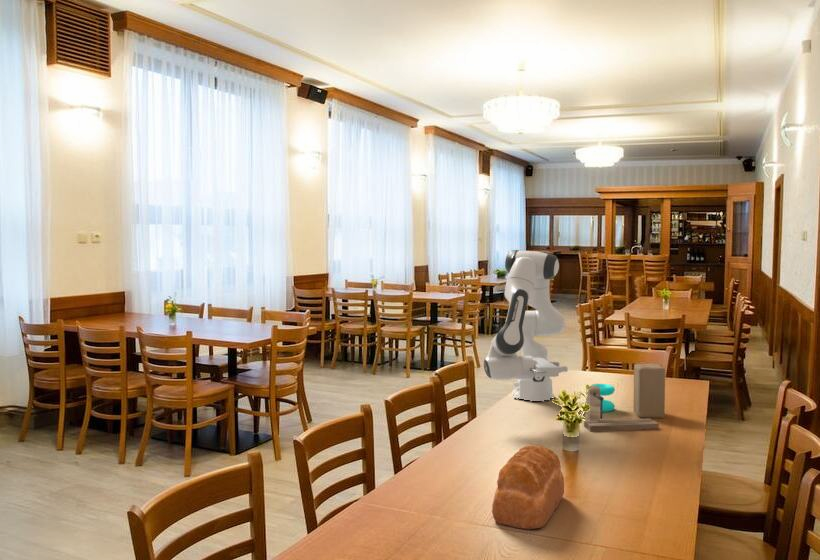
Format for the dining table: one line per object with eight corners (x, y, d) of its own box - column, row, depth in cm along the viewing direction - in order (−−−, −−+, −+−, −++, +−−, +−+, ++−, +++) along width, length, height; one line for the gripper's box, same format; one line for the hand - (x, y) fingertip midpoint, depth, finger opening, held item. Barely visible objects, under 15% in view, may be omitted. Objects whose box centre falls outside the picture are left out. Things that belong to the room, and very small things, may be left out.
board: (583, 426, 253) (583, 420, 253) (650, 423, 256) (650, 418, 256) (590, 431, 246) (590, 425, 246) (658, 428, 249) (658, 423, 249)
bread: (488, 524, 168) (487, 463, 167) (518, 488, 192) (518, 435, 191) (542, 534, 162) (543, 471, 161) (567, 496, 186) (567, 441, 185)
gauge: (585, 421, 259) (586, 385, 259) (595, 421, 260) (596, 385, 259) (596, 429, 249) (596, 392, 248) (606, 429, 249) (607, 392, 248)
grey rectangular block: (658, 412, 273) (658, 363, 271) (665, 418, 263) (665, 368, 261) (632, 411, 274) (633, 363, 272) (638, 418, 264) (639, 367, 262)
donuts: (591, 388, 272) (587, 382, 282) (591, 412, 273) (587, 406, 283) (617, 388, 272) (612, 383, 281) (616, 412, 272) (611, 406, 282)
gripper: (535, 364, 243) (572, 363, 245) (520, 354, 264) (554, 353, 265) (535, 381, 244) (572, 380, 245) (520, 370, 264) (554, 369, 265)
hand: (562, 366), depth 255 cm, fingers open, 8 cm apart
